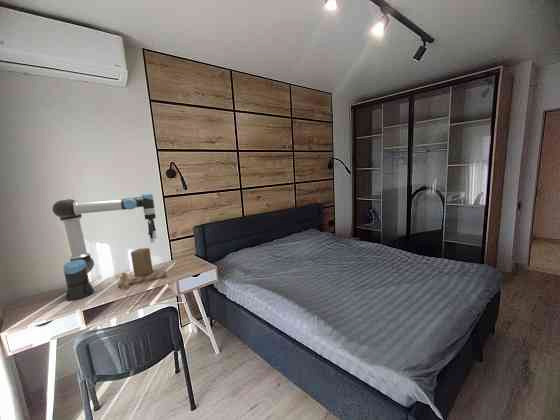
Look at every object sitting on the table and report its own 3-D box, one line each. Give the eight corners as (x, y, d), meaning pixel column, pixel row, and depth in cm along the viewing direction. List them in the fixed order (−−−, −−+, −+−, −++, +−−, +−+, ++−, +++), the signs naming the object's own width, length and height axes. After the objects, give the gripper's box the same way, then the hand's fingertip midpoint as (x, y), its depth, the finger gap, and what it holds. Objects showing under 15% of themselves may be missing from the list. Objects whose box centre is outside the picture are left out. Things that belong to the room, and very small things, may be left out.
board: (118, 287, 180) (118, 285, 180) (120, 283, 188) (120, 280, 188) (166, 277, 192) (166, 275, 192) (166, 273, 201) (166, 271, 200)
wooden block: (153, 271, 210) (149, 247, 207) (145, 276, 200) (142, 251, 197) (142, 271, 211) (138, 248, 208) (134, 276, 201) (130, 252, 198)
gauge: (121, 290, 175) (119, 275, 174) (124, 284, 186) (121, 269, 185) (128, 288, 177) (125, 273, 175) (130, 282, 188) (128, 268, 187)
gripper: (153, 214, 186) (157, 243, 189) (156, 211, 210) (160, 236, 212) (141, 216, 184) (145, 244, 186) (146, 212, 207) (150, 238, 210)
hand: (153, 240), depth 199 cm, fingers open, 13 cm apart
